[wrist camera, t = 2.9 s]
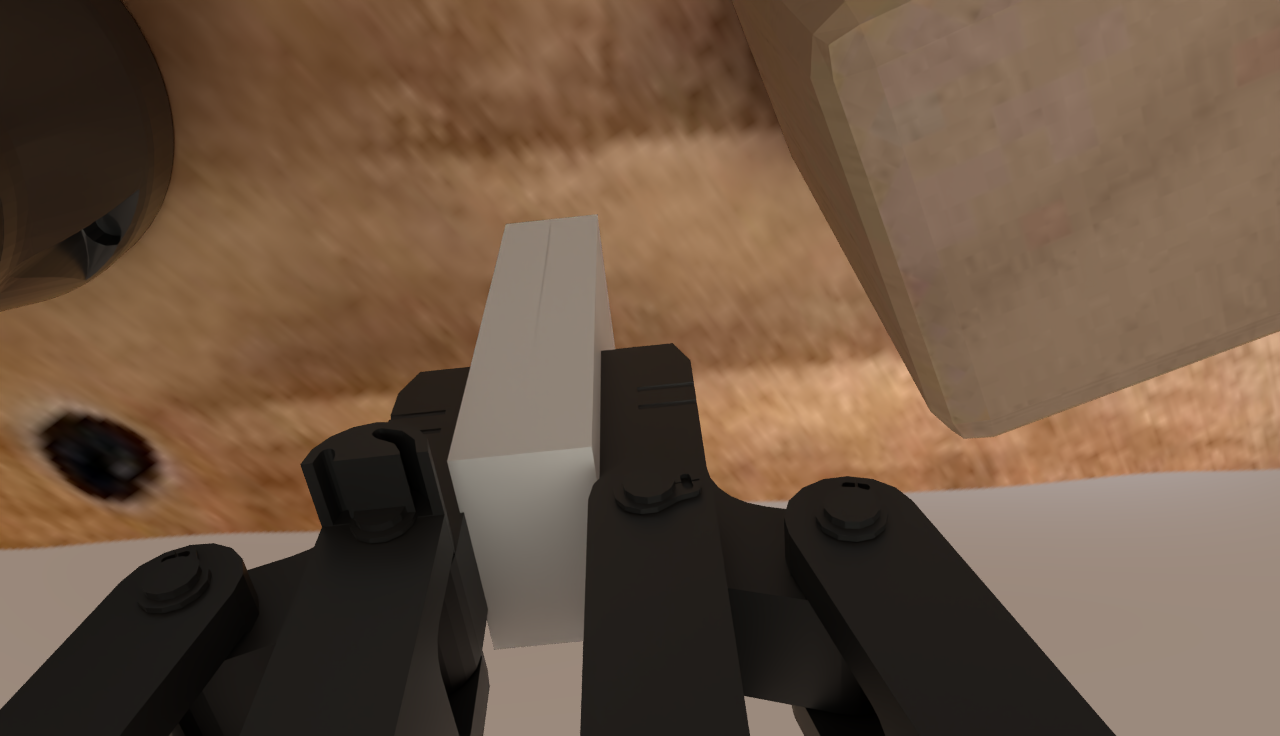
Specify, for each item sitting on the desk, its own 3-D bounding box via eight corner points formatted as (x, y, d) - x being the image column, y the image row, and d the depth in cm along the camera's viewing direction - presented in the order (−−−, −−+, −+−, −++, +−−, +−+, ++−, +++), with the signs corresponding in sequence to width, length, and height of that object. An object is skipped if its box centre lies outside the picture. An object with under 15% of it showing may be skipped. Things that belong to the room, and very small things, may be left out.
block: (1044, 62, 36) (1447, 291, 19) (796, 171, 38) (956, 471, 21) (978, -220, 31) (1434, -258, 14) (699, -80, 33) (801, 37, 16)
